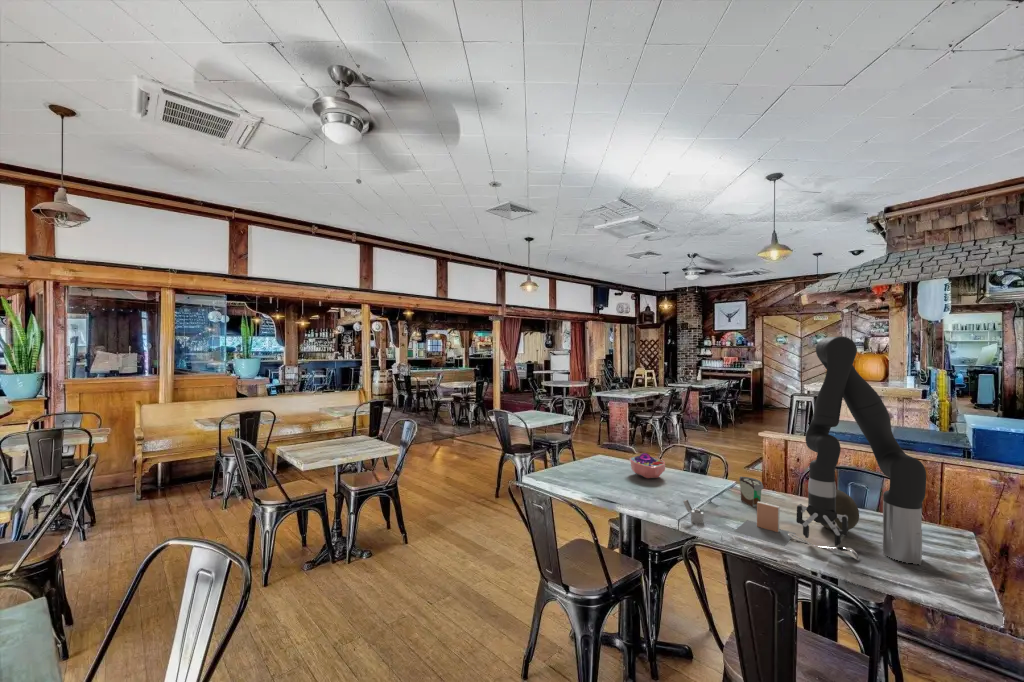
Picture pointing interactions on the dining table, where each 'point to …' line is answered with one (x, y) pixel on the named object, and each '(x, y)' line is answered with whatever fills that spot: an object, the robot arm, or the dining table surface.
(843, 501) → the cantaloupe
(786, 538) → the mat
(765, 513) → the tile
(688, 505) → the lighter
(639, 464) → the cell model
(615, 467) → the dining table surface
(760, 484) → the food container
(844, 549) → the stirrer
